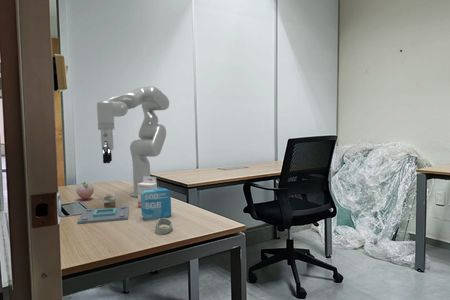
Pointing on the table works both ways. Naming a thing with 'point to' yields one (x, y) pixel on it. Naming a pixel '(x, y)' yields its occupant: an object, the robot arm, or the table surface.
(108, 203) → the smooth beige block
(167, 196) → the data package
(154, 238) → the table surface
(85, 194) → the decorative fruit
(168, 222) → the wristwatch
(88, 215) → the baseplate
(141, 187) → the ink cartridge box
